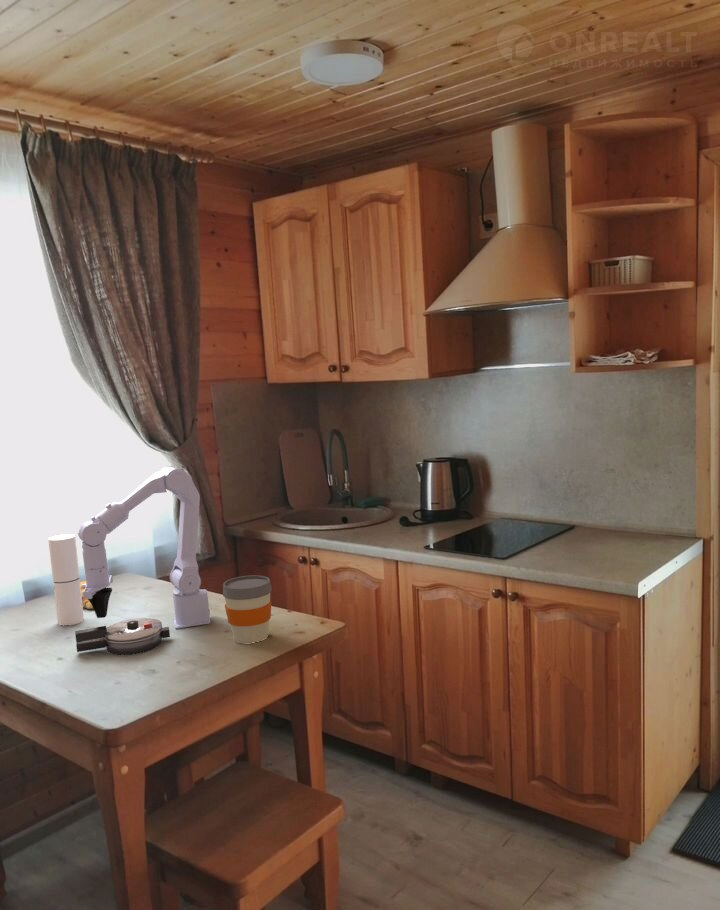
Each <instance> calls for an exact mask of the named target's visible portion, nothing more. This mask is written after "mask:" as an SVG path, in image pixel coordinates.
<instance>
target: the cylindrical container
mask: <svg viewBox="0 0 720 910" xmlns="http://www.w3.org/2000/svg"><path fill="white" fill-rule="evenodd" d="M48 547H49V548H48V549H49V556H50V557H49V558H50V564H51V565H50V566H51V576H52V584H53V591H54V592H53V593H54V601H55V602H54V603H55V610H56V611H55V612H56V619H57V620H56V621H57V625H58V624H59V625H58V626H61V625H63V626H64V625H69V626H74V625H77V624H80V623H82V622H84V620H85V617H84V608H83V605H82V596H81V587H80V582H81V579H80V569H79V562H78V561H79V559H78V551H77V543H76V535H75V534H70V533H67V534H60V535H59V534H58V535H54V536H51V537H48ZM63 626H62V627H63ZM64 627H65V626H64Z"/></svg>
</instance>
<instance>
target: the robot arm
mask: <svg viewBox="0 0 720 910" xmlns="http://www.w3.org/2000/svg"><path fill="white" fill-rule="evenodd" d="M168 491H169V492H171V493H172V494H173V495H174V497H176V498H177V499H178V500H179V501H180V507H179V521H178V523H179V524H178V537H177V553H176V558H175V560H174V562H173V566H172V569H171V571H170V574H169V581H170V582H171V584H172V585H173V586H174V589H173V590H172V594H173V595H172V598H173V606H174V607H173V608H174V616H175V617H174V618H173V624H174V627H175V629H176V630H177V629H183V628H184V629H185V628H189V627H197V626H202V625H209V624H211V617H210V615H211V613H210V612H211V611H210V605H209V596H208V590H207V589H205V588H204V589H200V587H201V585H202V579H201V577H200V575H199V574H200V573H199V565H198V561H197V545H198V532H199V530H198V529H199V513H200V504H201V503H200V501H201V496H200V492H199V491H198V489H197V486H195V483H194V481H193V478H192V476H191V475H190V474H188V472H186V471H184V469H181V468H177V467H174V466H171V465H166V466H164V467H162V468H161V469H160V470H159V471H156V472H154V473H153V474H151V476H149V478H147V479H146V480H145V481H144V482H143V483H141V485H139V486H138V487H137V488H136V489H135V490H133V491H132V492H131V493H130V494H129V495H128V496H127V497H125V498H124V499H123V500H121V501H120V502H118V501H113V502H112V503H107V504H106V505H105V506H104V507H105V508H104V509H103V510H102V511H100V512H99V513H98V514H96V516H94V515H92V516H91V517H90V521H85V522H83V523H82V525H80V527H79V530H78V533H77V534H78V537H79V539H80V540H81V541H82V542H81V543H82V545H81V547H82V558H83V567H84V575H85V580H86V583H84V584H83V585H82V587H83V588H85V590H84V591H83V599H88V600H89V601H90V603H91V604H92V606H93V608H92V609H93V611H94V614H95V616H96V617H97V619H101V618H106V617H107V615H108V607H109V601H110V598H111V595H112V591H113V588H112V587H109V586H111V584H112V583H113V582H114V578H113V575H109V567H108V559H107V550H106V549H107V548H106V546H105V541H106V538H107V535H109V534H110V533H112V532H114V530H115V529H118V527H120V526H121V525H122V524H123V523H124V522H126V521H127V520H128V519H129V513H130V512H131V511H132V510H133V509H135V508H136V507H138V506H139V505H140V504H142V503H143V502H144V501H146V500H147V499H149V498H151V496H153V495H155V494H161V493H163V494H165V493H167V492H168Z"/></svg>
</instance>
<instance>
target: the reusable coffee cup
mask: <svg viewBox="0 0 720 910" xmlns="http://www.w3.org/2000/svg"><path fill="white" fill-rule="evenodd" d="M272 590H273V589H272V584H271V580H270V577H267V576H265V575H258V574H257V575H255V574H254V575H243V576H237V577H233V578H230V579H227V580H226V581H224V582H223V583H222V596H223V597H224V601H225V605H224V608H225V613H226V617H227V622H228V624H229V625H230V628H231V633H232V638H233V642H235V641H236V642H239V643H252V642H257V641H261V640H263V639H265V638H267V637H269V631H270V630H269V628H270V627H269V626H270V619H271V617H272V599H271V592H272ZM267 639H268V638H267ZM236 642H235V643H236ZM239 643H238V644H239Z"/></svg>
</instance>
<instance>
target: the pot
mask: <svg viewBox="0 0 720 910" xmlns="http://www.w3.org/2000/svg"><path fill="white" fill-rule="evenodd" d="M170 632H171V631H170V627H169V626H165V627H162V629H161V631H159V632H158V633H156V634H155V635H152V636H150V637H147V638H143V639H139V640H134V641H125V642H116V641H110V640H107V639H105V638H98V639H93V640H87V641H82V642H76V641H75V642H76V644H75V646H76V652H77V653H80V652H86V651H93V650H99V649H105V650H106V652H107V653H109V654H111V655H115V656H133V655H138V654H143V653H147V652H149V651H152V650H154V649H156V648H158V647H159V646H160V645H162V644H163V639H167V638H171V635H170Z"/></svg>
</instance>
